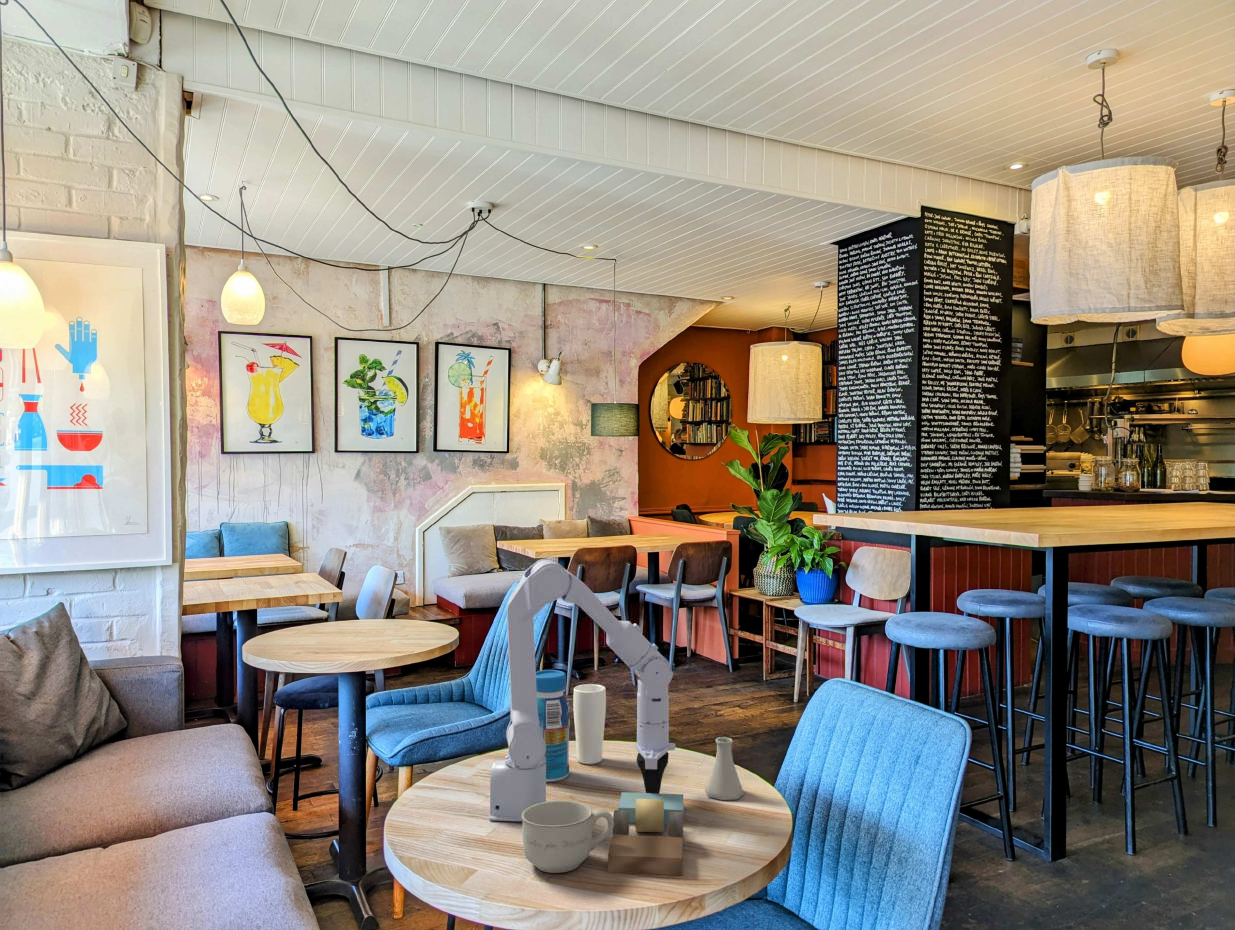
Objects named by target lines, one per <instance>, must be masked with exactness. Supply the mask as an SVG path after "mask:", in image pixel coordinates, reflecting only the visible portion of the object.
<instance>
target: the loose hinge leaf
mask: <svg viewBox="0 0 1235 930" xmlns="http://www.w3.org/2000/svg"><path fill="white" fill-rule="evenodd" d="M617 810H629V824H635V827H634V828H635V832H641V833H664V830H665V829H664V826H665V825H668V821H669V812H682V813H683V814H684V794H681V793H680V794H679V793H659V794H658V793H646V792H626V791H624V792H623V791H622V792H621V795H620V798H619V803H618V808H617Z"/></svg>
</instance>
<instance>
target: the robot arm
mask: <svg viewBox="0 0 1235 930" xmlns="http://www.w3.org/2000/svg"><path fill="white" fill-rule="evenodd" d="M518 582H519V583H518V584H517V586H516V587H515V589H514V591H513V593H512V594H511V596H510V597H509V599H508V601H507V603H506V621H507V622H506V627H507V650H508V667H509V668H508V669H509V672H508V673H509V691H510V692H509V693H510V721H509V723H508V725H507V728H506V732H505V737H506V742H507V746H508V752H507V754H506V756H505V757H504V759H501V760H500V759H499V760H495V761H494V762H493V765H492V767H491V772H490V780H489V781H490V782H489V783H490V784H489V787H490V788H489V791H490V794H489V796H490V797H489V798H490V799H489V801H490V802H489V803H490V804H489V807H490V809H489V813H490V814H489V817H488V819H489V821H497V822H498V821H499V822H500V821H501V822H502V821H503V822H522V823H523V820H522V813H523V812H524V811H525V810H526V809H527V808H528V807H530V806H533V805H535V804H539V803H543V802H548V801H549V800H547V782H546V757H545V756H544V755H545V752H546V744H545V741H544V739H543V737H542V734H541V728H540V725H539V718H538V709H537V690H536V672H537V671H536V649H535V629H534V627H535V626H534V624H535V623H534V618H535V616H537V614H538V613H539V612H541V611H542V609H543V608H545V606H546V605H548V604H551V603H553V602H555V601H556V600H558V599H562V600H563V602H565V603H571V604H574V605H575V604H576V605H577V606H579V608H581V609H582V610H583V611H584V612H585V614H586V615H588V616H589V617H590V618H591V620H593V621H594V622H595V623H596V624H597V625H598V626H599V627H600V628H601V629H602V630H603V631H604V632H605V634H606V637H605V638H606V639H605V640H606V641H605V643H606V645H607V646H608V647H609V648H610V649H611V650H612V651H613V652H614V654H616V656H617V657H619V658H620V660H621V661H622V662H624V664H625V665H627V667H628V668H629V669H631V670H633V672H634V675H635V676H637V677H638V678H639V679H637V694H636V743H635V749H636V751H637V752H638V753H637V755H636V764H637V766H638V768H639V770H640V772H641V775H642V779H643V785H644V790H645V793H658V794H660V792H661V786H662V779H663V776H664V773H665V770H666V768H667V766H668V764H669V755H670V754H669V751H675V750H676V743H674V742H670V739H669V737H670V736H669V733H670V732H669V731H670V730H669V727H670V725H669V724H670V723H669V722H670V721H669V720H670V715H669V714H670V713H669V712H670V711H669V710H670V709H669V708H670V702H669V701H670V695H669V684H670V683H671V681H672V679H673V677H674V671H672V668H671V667H672V666H671V663H670V662H669V660H667V658H666V657H665V656H663V655H662V654H661V653H660V651H659V650H658V649H659V647H658V645H656V644H655V643H651V642H650V641H649V640H648V639H647V638H646V637H645V635H643V634H642V633H641V631H642V629H641V627H640V626H639V625H638V624H637V623H632V622H631V621H629V620H618V618H617V617H615V615H614V614H613V613H612V612H611V611H610V610H609V608H608V607H607V606H606V605H605V604H604V603H603V602H602V601H601V600H600V599H599V597H597V595H596V594H595V593H594V592H593V591H592V590H591V589H590V588H589V587H588V586H587V585H586V583H584V582H583V581H582V580H581V579H579V578H578V577H577V576H576V575H574V574H573V573H571V572H570V571H568V570H567V569H566V568H565V567H564V566H562V565H561V564H560V563H559V562H558V561H556V560H555V559H552V558H541V559H539V560H537V561H536V562H534V563H533V564H532V565H531V566H529V567H528V568H527V569H525V571H524V572H523V574H522V577H521V579H520V580H519V581H518Z"/></svg>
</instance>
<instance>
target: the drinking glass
mask: <svg viewBox="0 0 1235 930" xmlns="http://www.w3.org/2000/svg"><path fill="white" fill-rule="evenodd" d="M606 689H607V688H606V687H605V686H604V685H601V684H595V683H586V684H579V685H576V686H575V687H574V688H573V697H572V699H573V704H572V705H573V708H572V709H573V719H574V720H573V721H574V734H575V745H576V747H575V748H576V749H575V750H576V760H577V762H578V763H580V764H583V765H595V764H598V763H600V762H601V761H602V760H603V748H604V735H605V734H604V733H605V725H606V724H605V721H606V714H607V713H606V708H607V693H606V692H607V691H606Z"/></svg>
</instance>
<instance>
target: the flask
mask: <svg viewBox="0 0 1235 930" xmlns="http://www.w3.org/2000/svg"><path fill="white" fill-rule="evenodd" d="M733 742H734V740H733V739H732V738H731V737H726V736H723V737H717V738H715V743H716V753H715V760H714V763H713V766H712V769H711V772H710V775H709V778H708V781H707V784H706V786H705V790H704V792H705V794H706V796H707V797H708V798H712V799H717V800H722V801H726V800H727V801H729V800H730V801H732V800H739V799H740V798H741V797H743V795H744V794H745V792H744V790H743V787H742V784H741V780H740V778H739V775H738V772H737V769H736V767H735V763H734V759H733V758H734V757H733V752H732V744H733Z"/></svg>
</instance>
